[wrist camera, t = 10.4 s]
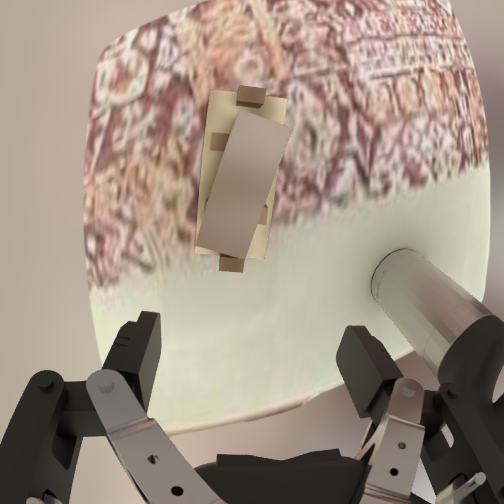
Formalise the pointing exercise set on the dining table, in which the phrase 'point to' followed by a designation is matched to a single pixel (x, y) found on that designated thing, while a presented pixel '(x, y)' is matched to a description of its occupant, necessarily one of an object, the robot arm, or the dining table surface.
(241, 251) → the brown rectangular box
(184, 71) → the dining table surface
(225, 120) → the display cradle
